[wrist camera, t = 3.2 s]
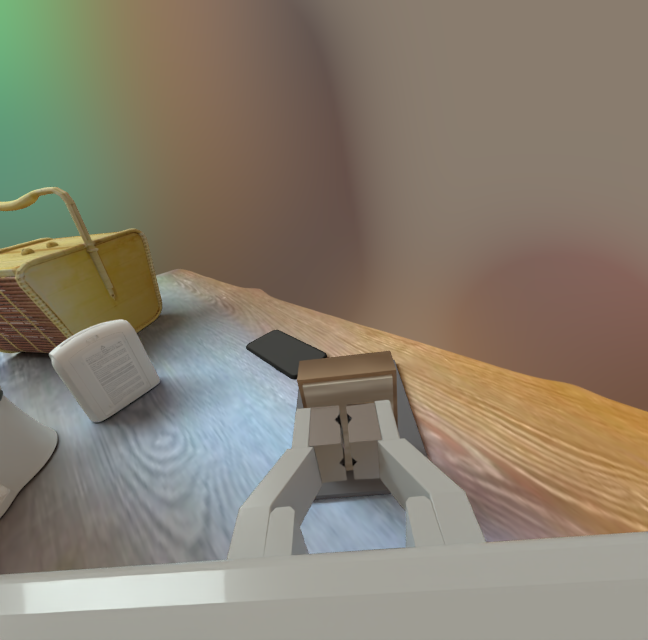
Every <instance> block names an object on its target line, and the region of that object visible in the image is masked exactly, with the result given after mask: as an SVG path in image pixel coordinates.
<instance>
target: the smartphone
mask: <svg viewBox="0 0 648 640" xmlns="http://www.w3.org/2000/svg"><path fill="white" fill-rule="evenodd" d="M246 349H247V350H249V351H250V352H252V353H253V354H255V355H256V356H258V357H259V358H261V359H262V360H264V361H265V362H267V363H268V364H270V365H271V366H273V367H274V368H275V369H277V370H278V371H280V372H282V373H283V374H285V375H286V376H288V377H289V378H291V379H297V377H298V369H299V361H304V360H313V359H322V358H327V355H326V353H325V352H323V351H321V350H318V349H317V348H315V347H312V346H311V345H309V344H306V343H304V342H302V341H300V340H298V339H296V338H294V337H292V336H290V335H287V334H285V333H283V332H281V331H279V330H274V331H271V332H269V333H267V334H266V335H264V336H262V337H260V338H258V339H256V340H254V341H253V342H251V343H249V344H248V345H247V346H246Z"/></svg>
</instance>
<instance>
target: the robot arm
mask: <svg viewBox="0 0 648 640" xmlns="http://www.w3.org/2000/svg"><path fill="white" fill-rule="evenodd" d="M1 389H2V388H1V386H0V518H1V517H2V515H3V514H4V513H5V512H6V510H7V509H8V508H9V506H10V505H11V503H12V502H13V500H14V498H15V497H16V495H17V494H18V492H19V491H20V490H21V489H22V488H23V487H24V486H25V485H26V484H27V483H28V482H29V481H30V480H31V479H32V478H33V477H34V476H35V475H36V474H37V472H38V471H39V470H40V469H41V468H42V467H43V466H44V464H45V463H46V462H47V460H48V459H49V458H50V456H51V455H52V453H53V451H54V449H55V447H56V444H57V433H56V432H55V431H54V430H53V429H51V428H49V427H47V426H45V425H43V424H42V423H40V422H38V421H36V420H35V419H33V418H32V417H30V416H29V415H27V414H26V413H25V412H23V411H22V410H21V409H19V408H18V407H17V406H16V405H14V404H13V403H12V402H11V401H10V400H8V399H7V398H6V397H5V396H4V395H3V391H2V390H1ZM346 411H347V419H348V433H349V444H350V451H351V457H352V465H353V472H354V478H355V480H356V479H374V478H381V481H382V482H383V483H384V484H385V486H386V487H387V488H388V490H389V491H390V492H391V494H392V495H393V496H394V497H395V499H396V500H397V501H398V503H399V504H400V505H401V506H402V508H403V509H404V510H405V512H406V548H393V549H377V550H362V551H348V552H333V553H318V554H309V553H308V550H307V547H306V544H305V541H304V538H303V535H302V532H301V529H300V525H301V524H302V522H303V520H304V518H305V516H306V514H307V512H308V510H309V508H310V507H311V505H312V503H313V501H314V499H315V497H316V495H317V493H318V491H319V490H320V488H321V486H322V483H326V482H335V481H344V480H347V471H346V459H345V452H344V451H345V442H344V432H343V425H342V422H341V412H340V406H339V405H338V406H325V407H311V408H302V409H297V411H296V415H295V423H294V432H293V441H292V449H287V450H286V451H285V453H284V454H283V455H282V456H281V458H280V459H279V460H278V461H277V463H276V464H275V465H274V466H273V468H272V469H271V470H270V471H269V472H268V474H267V475H266V476H265V477H264V479H263V480H262V481H261V482H260V484H259V485H258V486H257V487H256V489H255V490H254V491H253V492H252V494H251V495H250V496H249V497H248V499H247V500H246V501H245V502H244V504H243V505H242V506H241V507H240V508H239V512H238V516H237V520H236V524H235V528H234V532H233V536H232V540H231V544H230V548H229V552H228V556H227V560H214V561H199V562H184V563H169V564H154V565H139V566H124V567H109V568H94V569H79V570H64V571H49V572H33V573H18V574H3V575H0V640H648V532H633V533H618V534H603V535H588V536H573V537H558V538H543V539H529V540H514V541H499V542H486V541H485V538H484V536H483V534H482V531H481V529H480V527H479V524H478V522H477V519H476V517H475V515H474V512H473V510H472V507H471V505H470V503H469V500H468V498H467V496H466V493H465V491H464V490H462V489H461V488H460V487H459V486H458V485H457V484H456V483H454V482H453V481H452V480H451V479H450V478H449V477H448V476H447V475H445V474H444V473H443V472H442V471H441V470H440V469H439V468H438V467H436V466H435V465H434V464H433V463H432V462H431V461H430V460H429V459H427V458H426V457H425V456H424V455H423V454H422V453H421V452H420V451H418V450H417V449H416V448H415V447H414V446H413V445H412V444H411V443H409V442H408V441H407V440H406V439H405V438H402V439H400V436H399V432H398V429H397V425H396V421H395V418H394V414H393V410H392V407H391V403H390V401H389V400H381V401H375V402H374V401H373V402H364V403H355V404H346Z"/></svg>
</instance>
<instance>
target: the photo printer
mask: <svg viewBox="0 0 648 640" xmlns="http://www.w3.org/2000/svg"><path fill="white" fill-rule="evenodd" d="M49 356H50V358H51V360H52V365H53V368H54V369H55V371H56V372H57V374H58V375H59V377H60V378H61V379H62V381H63V382H64V384H65V385H66V386H67V388H68V389H69V391H70V392H71V393H72V395H73V396H74V398H75V399H76V400H77V402H78V403H79V405H80V406H81V408H82V409H83V410H84V412H85V413H86V415H87V416H88V417H89V419H90V420H91V421H92V422H101V421H103V420H105V419H107V418H109V417H110V416H112V415H113V414H115V413H116V412H118V411H119V410H121V409H122V408H124V407H125V406H127V405H128V404H130V403H131V402H133V401H134V400H136V399H137V398H139V397H140V396H142V395H143V394H145V393H146V392H148V391H149V390H150V389H152V388H153V387H155V386H156V385H157V384H158V383H160V379H159V376H158V374H157V372H156V370H155V369H154V367H153V365H152V363H151V361H150V359H149V357H148V355H147V353H146V351H145V349H144V347H143V345H142V343H141V341H140V339H139V337H138V335H137V333H136V331H135V330H134V328H133V327H132V326H131V324H130V323H129V322H128V321H126V320H123V319H120V320H113V321H108V322H104V323H100V324H97V325H94V326H91V327H89V328H87V329H84V330H82V331H80V332H78V333H76V334H75V335H73V336H71V337H69V338H68V339H66V340H65V341H63V342H62V343H61V344H59V345H58V346H57V347H56V348H54V349H53V350H52V351H51V352H50V353H49Z"/></svg>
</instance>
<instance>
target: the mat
mask: <svg viewBox="0 0 648 640" xmlns="http://www.w3.org/2000/svg"><path fill="white" fill-rule="evenodd" d="M393 361H394V360H393ZM394 364H395V361H394ZM395 367H396V364H395ZM396 373H397V413H398V432H399V436H400V439H402V438H405V439H406V440H407V441H408V442H409V443H411V444H412V445H413V446H414V447H415V448H416V449H417V450H418V451H420V452H421V453H422V454H423V455H424V456H425V457H426V458H427V459H428V457H427V454H426V451H425V449H424V446H423V443H422V440H421V437H420V434H419V431H418V428H417V425H416V422H415V419H414V416H413V413H412V410H411V408H410V405H409V402H408V399H407V396H406V393H405V390H404V387H403V384H402V381H401V378H400V375H399V372H398V369H397V367H396ZM302 408H303V403H302V399H301V395H300V391H299V390H298V399H297V408H296V411H297V409H302ZM379 494H391V492H390V491H389V490H388V488H387V487H386V486H385V484H384V483H383V482H382V481H381V478H374V479H356V480H355V478H354V472H353V470H349V471H347V480H344V481H335V482H326V483H322V486H321V488H320V490H319V491H318V493H317V495H316V497H315V499H328V498H341V497H353V496H366V495H379ZM315 499H314V500H315Z"/></svg>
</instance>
